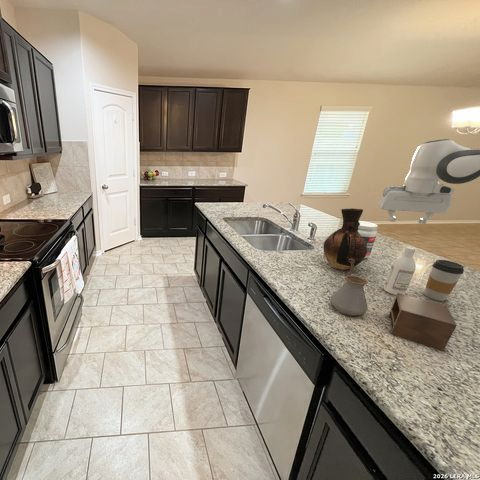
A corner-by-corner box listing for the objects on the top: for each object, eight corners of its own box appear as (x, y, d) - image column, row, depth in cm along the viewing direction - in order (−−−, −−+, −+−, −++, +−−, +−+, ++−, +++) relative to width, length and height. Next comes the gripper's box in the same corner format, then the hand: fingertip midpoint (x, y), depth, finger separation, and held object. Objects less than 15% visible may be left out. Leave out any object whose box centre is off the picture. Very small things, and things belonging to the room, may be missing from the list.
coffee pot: (368, 323, 87) (381, 285, 82) (329, 312, 93) (339, 277, 87) (359, 293, 105) (370, 261, 99) (326, 286, 110) (335, 255, 105)
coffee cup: (447, 305, 97) (464, 270, 92) (418, 295, 104) (432, 262, 98) (450, 298, 102) (467, 264, 96) (422, 289, 108) (436, 257, 103)
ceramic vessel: (359, 279, 115) (380, 216, 104) (315, 268, 125) (330, 210, 115) (361, 263, 130) (379, 207, 120) (322, 255, 141) (336, 202, 130)
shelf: (434, 329, 85) (446, 305, 81) (443, 351, 76) (457, 325, 72) (388, 315, 92) (397, 292, 88) (391, 334, 83) (401, 309, 79)
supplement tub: (370, 261, 133) (382, 228, 126) (341, 256, 139) (350, 224, 132) (367, 253, 143) (377, 222, 136) (340, 248, 149) (348, 218, 143)
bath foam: (409, 295, 104) (428, 250, 96) (395, 297, 102) (413, 252, 95) (391, 286, 110) (408, 244, 103) (378, 287, 109) (394, 245, 102)
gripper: (389, 186, 93) (378, 222, 98) (461, 189, 87) (445, 227, 92) (381, 184, 99) (371, 217, 104) (448, 186, 93) (433, 222, 98)
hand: (406, 222), depth 98 cm, fingers open, 8 cm apart
